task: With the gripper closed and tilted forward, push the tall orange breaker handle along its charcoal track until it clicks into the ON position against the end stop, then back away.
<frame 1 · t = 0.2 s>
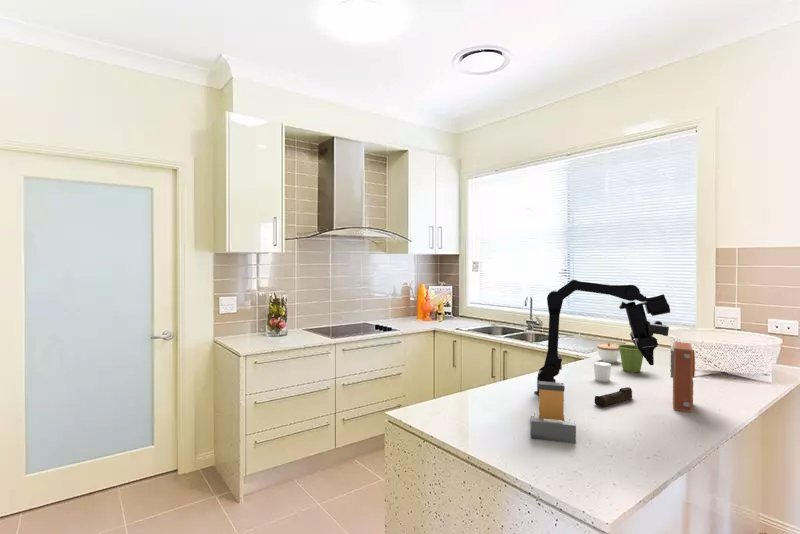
hand: (649, 362, 150), 15 cm above the counter, tool pointing down, fingers open, 9 cm apart
breaker handle: (551, 402, 132), point 7 cm above the counter, slide at 0.0 cm
brown case: (681, 406, 151), on the counter
lidded jar: (608, 361, 217), on the counter
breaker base: (551, 426, 132), on the counter
plant pot: (631, 371, 198), on the counter
hand tool: (614, 403, 155), on the counter
white cup: (602, 380, 184), on the counter
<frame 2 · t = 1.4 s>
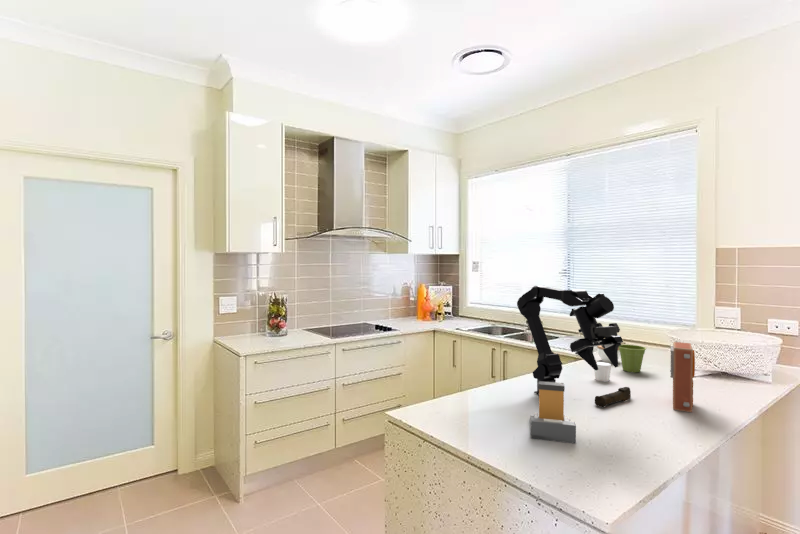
hand: (606, 368, 139), 16 cm above the counter, tool tilted 30°, fingers open, 9 cm apart
nothing on the counter moved.
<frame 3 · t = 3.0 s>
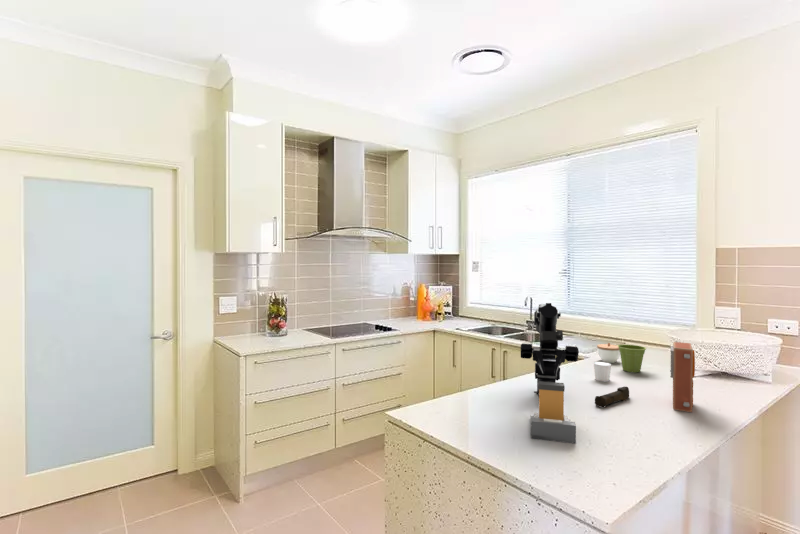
hand: (549, 373, 142), 14 cm above the counter, tool tilted 45°, fingers open, 3 cm apart
nothing on the counter moved.
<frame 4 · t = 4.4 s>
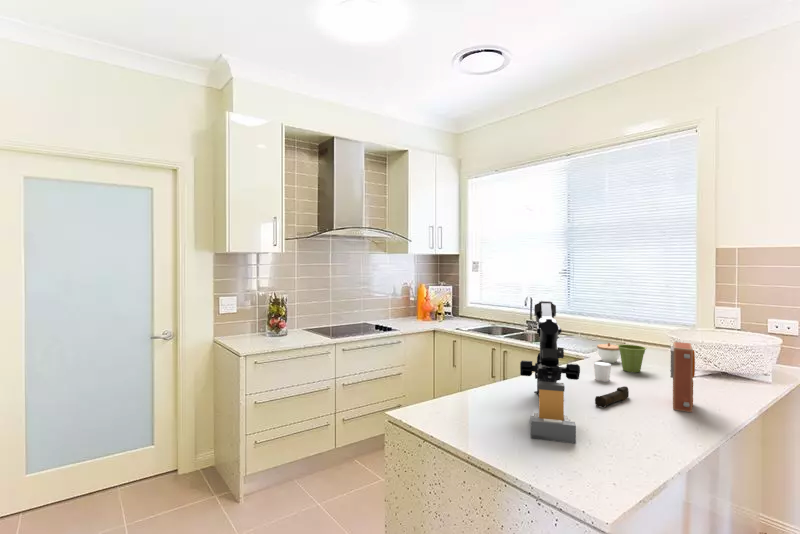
hand: (550, 392, 137), 9 cm above the counter, tool tilted 45°, fingers closed
nothing on the counter moved.
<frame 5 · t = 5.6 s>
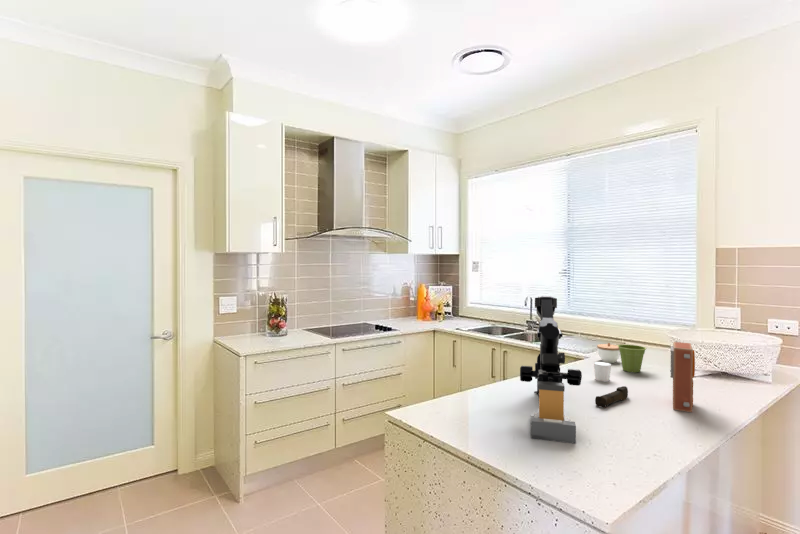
hand: (550, 399, 133), 8 cm above the counter, tool tilted 45°, fingers closed, pressing on breaker handle
breaker handle: (551, 402, 132), point 7 cm above the counter, slide at 0.0 cm, touching gripper
everything else where it was.
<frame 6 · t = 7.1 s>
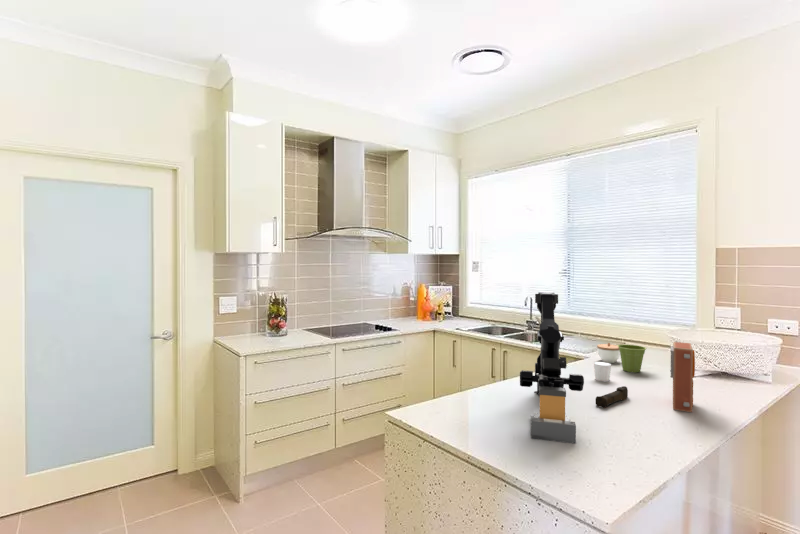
hand: (551, 405, 128), 8 cm above the counter, tool tilted 45°, fingers closed, pressing on breaker handle
breaker handle: (552, 408, 126), point 7 cm above the counter, slide at 5.4 cm, touching gripper
everything else where it was.
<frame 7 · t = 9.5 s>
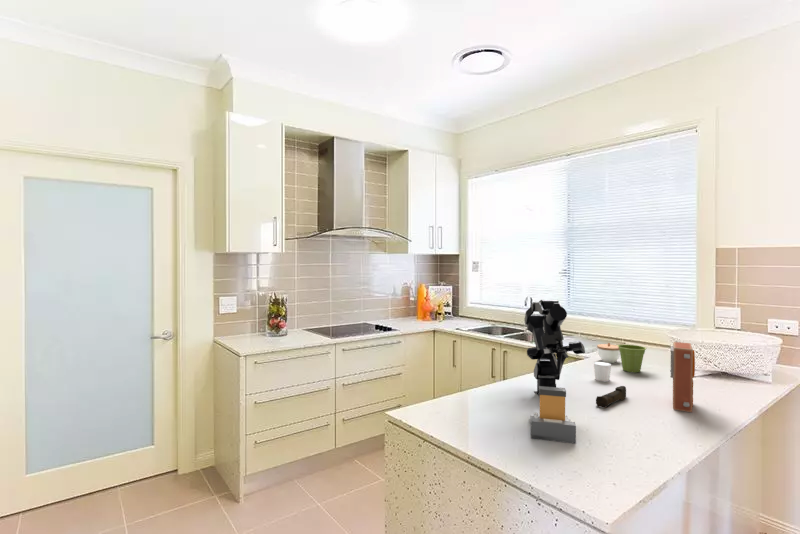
hand: (558, 374, 146), 12 cm above the counter, tool tilted 30°, fingers closed
breaker handle: (552, 408, 126), point 7 cm above the counter, slide at 5.4 cm
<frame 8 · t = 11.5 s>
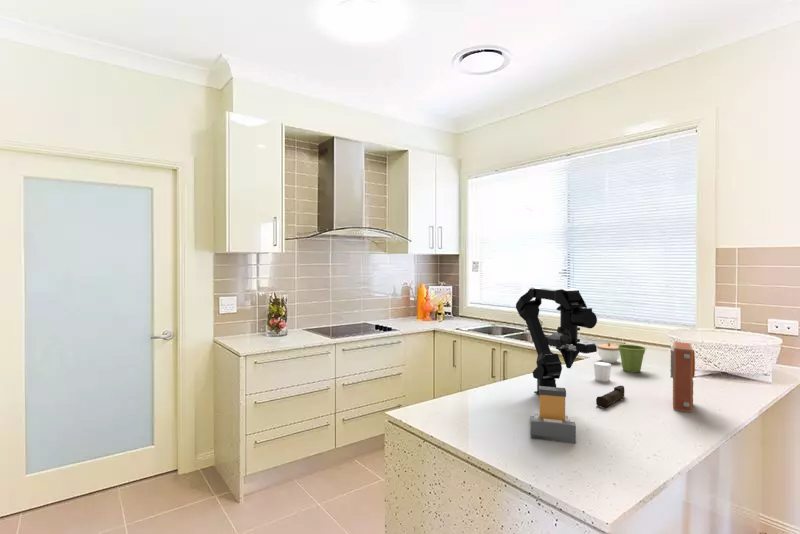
hand: (568, 368, 152), 13 cm above the counter, tool pointing down, fingers closed
at the end: breaker handle slide at 5.4 cm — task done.
